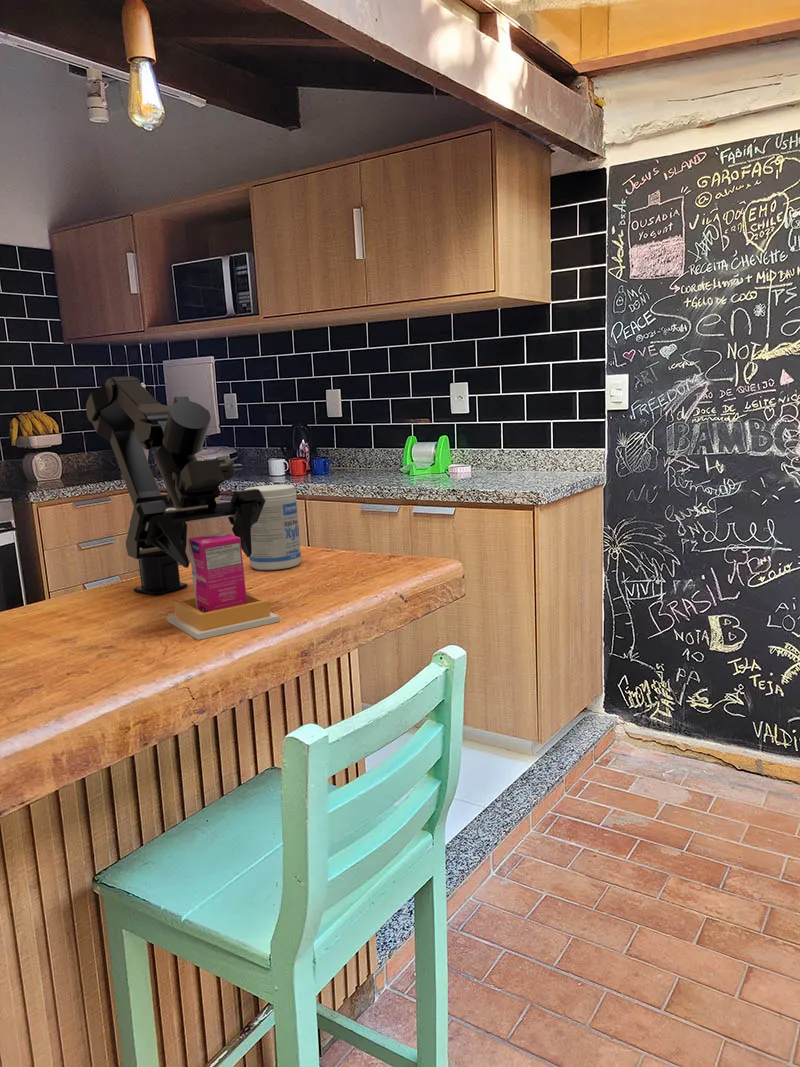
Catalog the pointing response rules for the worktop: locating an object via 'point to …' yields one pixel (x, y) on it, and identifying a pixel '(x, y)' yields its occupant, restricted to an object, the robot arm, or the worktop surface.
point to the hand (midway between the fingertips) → (219, 560)
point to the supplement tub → (276, 530)
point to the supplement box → (217, 571)
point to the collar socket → (221, 617)
